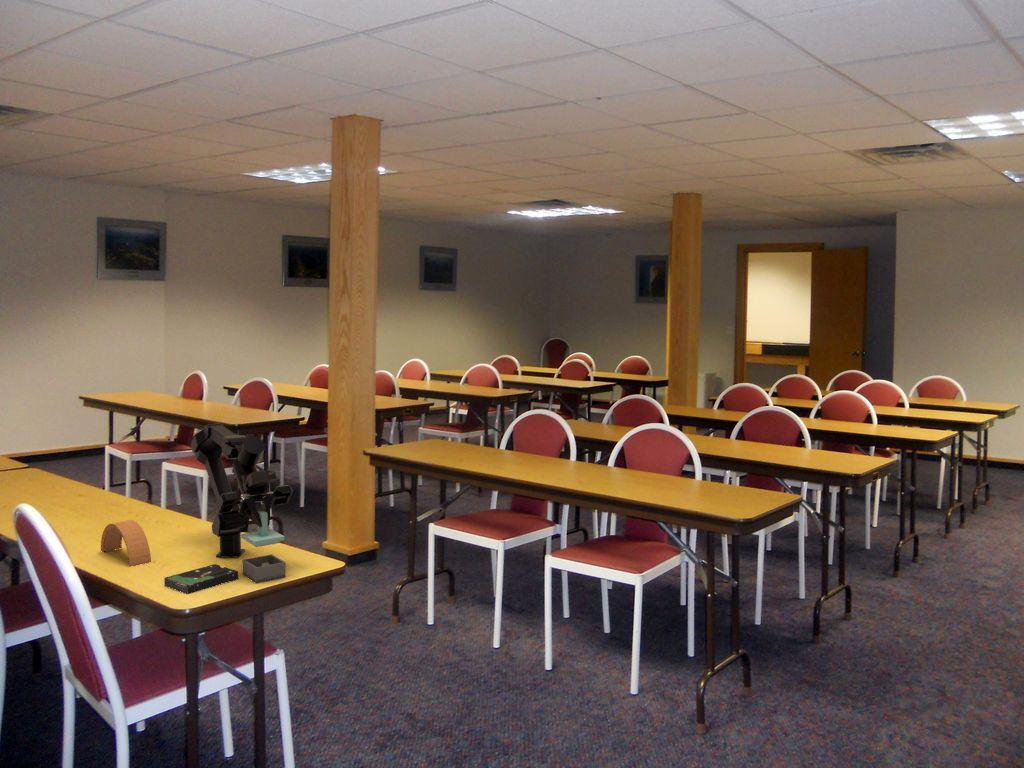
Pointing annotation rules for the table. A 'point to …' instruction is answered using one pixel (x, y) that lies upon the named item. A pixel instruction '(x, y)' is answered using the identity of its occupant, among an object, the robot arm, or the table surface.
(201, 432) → the robot arm
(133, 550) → the arch
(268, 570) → the tub
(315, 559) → the table surface
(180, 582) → the disk drive
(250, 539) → the lid
